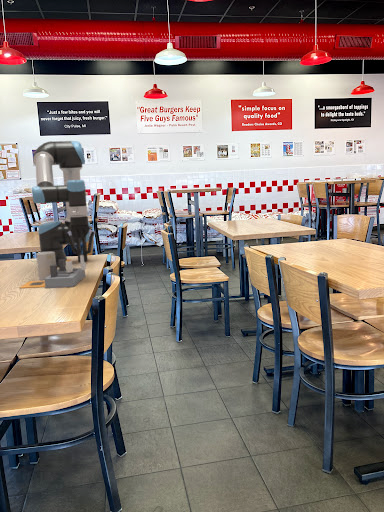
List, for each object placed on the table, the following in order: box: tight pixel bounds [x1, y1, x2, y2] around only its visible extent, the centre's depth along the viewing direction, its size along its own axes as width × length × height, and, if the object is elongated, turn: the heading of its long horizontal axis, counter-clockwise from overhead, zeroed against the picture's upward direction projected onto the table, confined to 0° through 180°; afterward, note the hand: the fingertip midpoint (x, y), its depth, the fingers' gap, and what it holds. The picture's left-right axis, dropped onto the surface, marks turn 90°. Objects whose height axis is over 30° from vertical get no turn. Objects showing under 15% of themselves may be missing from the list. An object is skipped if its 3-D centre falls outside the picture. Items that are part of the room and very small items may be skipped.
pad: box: [19, 280, 45, 289], centre depth 187 cm, size 11×11×1 cm
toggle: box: [65, 258, 74, 273], centre depth 189 cm, size 3×2×5 cm, turn 0°
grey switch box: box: [43, 259, 86, 289], centre depth 189 cm, size 20×12×9 cm, turn 0°
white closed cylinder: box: [35, 251, 56, 281], centre depth 198 cm, size 8×8×12 cm
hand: (83, 269), depth 189 cm, fingers closed
